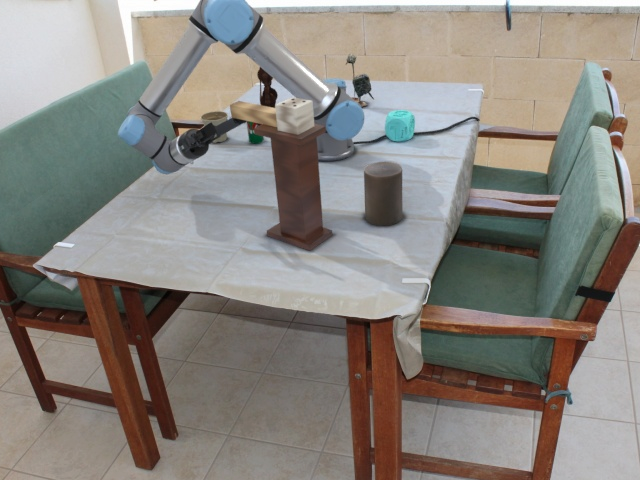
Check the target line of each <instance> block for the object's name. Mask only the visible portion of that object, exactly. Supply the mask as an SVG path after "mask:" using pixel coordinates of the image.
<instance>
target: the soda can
mask: <svg viewBox="0 0 640 480" xmlns="http://www.w3.org/2000/svg"><path fill="white" fill-rule="evenodd" d="M260 125H262V124H259V123H255V122H250V121H247V122H246V128H247V129H246V130H247V136H248V142H249V143H250V144H253V145H259V144H262V143H263V142H264V140H265V137H264V136H259V135H255V134H254V128H256V127H258V126H260Z"/></svg>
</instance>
